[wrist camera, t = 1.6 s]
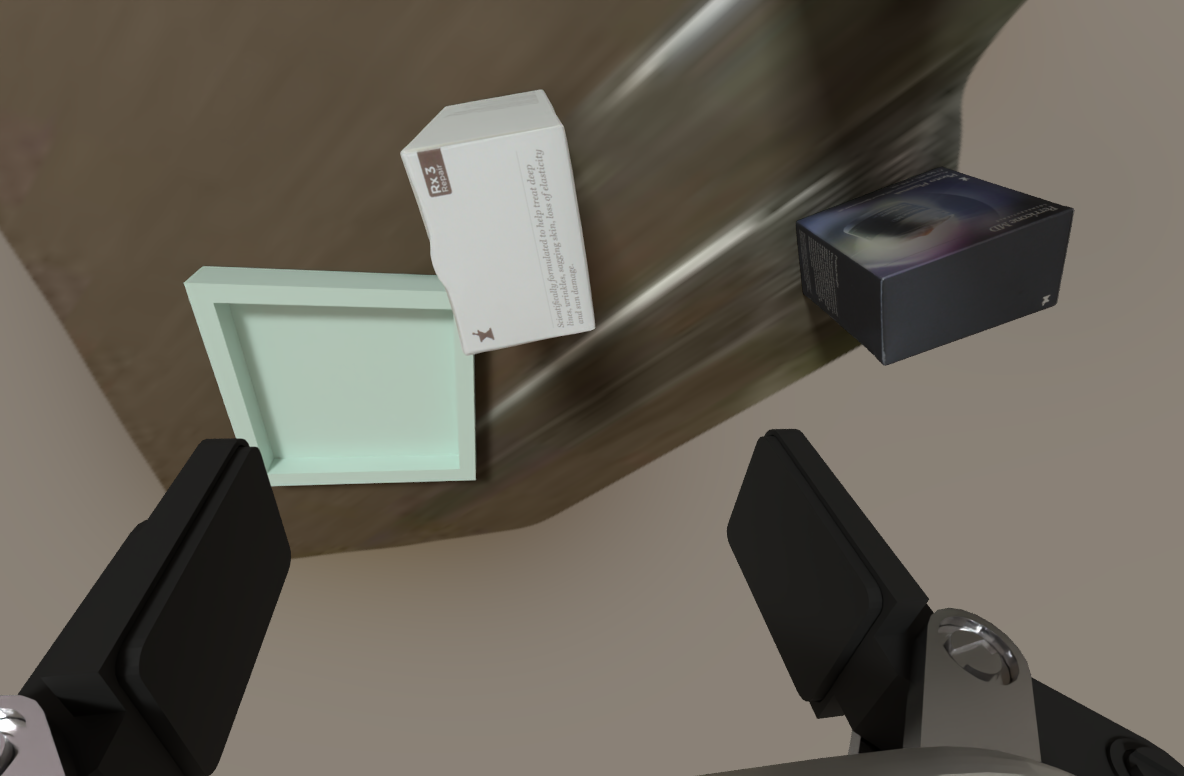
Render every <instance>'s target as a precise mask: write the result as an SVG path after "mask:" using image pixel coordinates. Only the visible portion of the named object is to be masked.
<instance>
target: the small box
mask: <svg viewBox="0 0 1184 776" xmlns="http://www.w3.org/2000/svg"><path fill="white" fill-rule="evenodd" d="M1073 215H1074V209H1073V208H1070V207H1067V206H1062V205H1059V204H1056V203H1052V202H1050V201H1047V200H1043V199H1041V198H1037V197H1034V196H1031V195H1028V194H1024V193H1022V192H1018V191H1015V190H1012V189H1009V188H1006V187H1002V186H999V185H997V184H993V183H990V182H987V181H984V180H981V179H978V178H975V177H971V176H969V175H965V174H963V173H959V172H956V171H953V170H950V169H947V168H945V167H939V168H936V169H933V170H931V171H928V172H925V173H923V174H920V175H917V176H915V177H912V178H909V179H907V180H904V181H902V182H899V183H896V184H894V185H891V186H888V187H886V188H883V189H880V190H878V191H875V192H873V193H870V194H867V195H864V196H862V197H859V198H856V199H854V200H851V201H848V202H846V203H843V204H841V205H838V206H835V207H833V208H830V209H827V210H824V211H822V212H819V213H817V214H814V215H811V216H808V217H806V218H803V219H800V220H798V221H797V222H796V230H797V242H798V251H799V261H800V269H801V278H802V288H803V294H804V295H805V296H807V297H808V298H810V299H811V300H812V301H813V302H814V303H816V305H818V306H819V307H820V308H821V309H822V310H823V311H825V312H826V313H827V314H828V315H829V316H830V317H831V318H833V319H834V320H835V321H836V322H837V323H838V324H839V325H841V326H842V327H843V328H844V329H845V330H846V331H847V332H848V333H850V334H851V335H852V336H853V337H854V338H856V339H857V340H858V341H859V342H860V343H861V344H862V345H864V346H865V347H866V348H867V349H868V350H869V351H870V352H871V353H872V354H873V355H875V357H876V358H877V359H878V360H879V361H880V362H881V363H882V364H883V365H889V364H892V363H895V362H897V361H900V360H903V359H906V358H908V357H911V356H914V355H917V354H920V353H922V352H925V351H928V350H931V349H934V348H936V347H939V346H942V345H945V344H948V343H951V342H954V341H956V340H959V339H962V338H965V337H967V336H970V335H973V334H976V333H979V332H982V331H984V330H987V329H990V328H993V327H996V326H999V325H1001V324H1004V323H1007V322H1010V321H1013V320H1015V319H1018V318H1021V317H1024V316H1026V315H1029V314H1032V313H1035V312H1038V311H1041V310H1043V309H1046V308H1049V307H1052V306H1054V305H1056V304H1057V301H1058V294H1059V290H1060V284H1061V279H1062V274H1063V268H1064V263H1065V258H1066V253H1067V247H1068V243H1069V237H1070V232H1071V227H1072V221H1073Z"/></svg>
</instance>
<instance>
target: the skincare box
mask: <svg viewBox="0 0 1184 776" xmlns="http://www.w3.org/2000/svg"><path fill="white" fill-rule="evenodd" d="M401 157H402V160H403V163H404V166H405V169H406V172H407V175H408V178H409V181H410V183H411V186H412V189H413V192H414V195H415V198H416V201H417V203H418V206H419V209H420V212H421V215H422V218H423V222H424V225H425V228H426V231H427V234H428V237H429V240H430V246H431V252H430V253H431V259H432V263H433V267H434V269H435V272H436V274H437V276H438V278H439V280H440V281H441V282H442V284H443V285H444V287H445V290H446V293H447V296H448V299H449V302H450V305H451V309H452V311H453V314H454V318H455V322H456V326H457V330H458V335H459V339H460V344H461V348H462V351H463V353H464V354H465V355H466V356H469V355H473V354H477V353H481V352H486V351H492V350H497V349H502V348H507V347H512V346H516V345H521V344H526V343H530V342H535V341H539V340H544V339H548V338H553V337H559V336H564V335H570V334H576V333H581V332H586V331H591V330H594V329H595V320H594V311H593V303H592V295H591V287H590V280H589V273H588V265H587V259H586V253H585V246H584V240H583V233H582V226H581V220H580V214H579V208H578V202H577V196H576V190H575V184H574V177H573V171H572V165H571V160H570V154H569V149H568V143H567V138H566V133H565V129H564V126H563V125H562V124H561V122H560V120H559V118H558V117H557V116H556V114H555V111H554V109H553V107H552V105H551V103H550V101H549V99H548V98H547V96H546V94H545V92H544V91H543V90H536V91H530V92H524V93H519V94H513V95H508V96H502V97H496V98H491V99H485V100H480V101H474V102H468V103H463V104H457V105H452V106H447V107H444V109H443V110H442V111H441V112H440V113H439V114H438V115H437V116H436V117H435V118H434V119H433V120H432V121H431V122H430V123H429V124H428V125H427V126H426V127H425V128H424V129H423V130H422V131H421V132H420V133H419V134H418V135H417V136H416V137H415V138H414V139H413V140H412V141H411V142H410V143H409V144H408V145H407V146H406V147H405V148H404V149H403V150H402V151H401Z"/></svg>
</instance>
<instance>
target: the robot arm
mask: <svg viewBox="0 0 1184 776" xmlns="http://www.w3.org/2000/svg"><path fill="white" fill-rule="evenodd" d="M727 537H728V542H729V544H730V546H731V549H732V551H733V553H734V555H735V557H736V559H737V562H738V564H739V566H740V568H741V570H742V572H743V575H744V577H745V579H746V581H747V583H748V585H749V588H750V590H751V592H752V594H753V596H754V598H755V601H756V603H757V605H758V607H759V609H760V612H761V613H762V616H763V618H764V620H765V622H766V625H767V627H768V629H769V631H770V633H771V635H772V637H773V640H774V642H775V644H776V646H777V648H778V650H779V653H780V655H781V657H782V659H783V661H784V663H785V666H786V668H787V670H788V672H789V674H790V677H791V679H792V681H793V683H794V685H795V687H796V690H797V692H798V693H799V695H800V696H801V698H802V699H803V700H805V701H809V702H810V704H811V706H812V709H813V711H814V713H815V715H816V717H817V718H818V719H820V718H828V717H835V716H843V715H845V716H846V718H847V720H848V722H849V724H850V726H851V728H852V734H851V740H850V747H849V752H848V755H845V756H837V757H828V758H820V759H813V760H805V761H798V762H791V763H784V764H778V765H770V766H763V767H756V768H749V769H741V770H734V771H728V772H720V773H713V774H706V775H699V776H1184V767H1183V766H1182V765H1181V764H1180V763H1179V762H1177V761H1176V760H1175V759H1174V758H1173V757H1171V756H1170V755H1169V754H1168V753H1166V752H1165V751H1164V750H1162V749H1160V748H1159V747H1157V746H1156V745H1154V744H1153V743H1151V742H1150V741H1148V740H1146V739H1144V738H1143V737H1141V736H1139V735H1137V734H1135V733H1133V732H1132V731H1130V730H1128V729H1126V728H1124V727H1122V726H1120V725H1119V724H1117V723H1114V722H1113V721H1111V720H1109V719H1107V718H1106V717H1104V716H1102V715H1100V714H1098V713H1096V712H1095V711H1093V710H1091V709H1089V708H1087V707H1085V706H1083V705H1082V704H1080V703H1078V702H1076V701H1074V700H1072V699H1071V698H1068V697H1067V696H1065V695H1063V694H1061V693H1059V692H1058V691H1056V690H1054V689H1052V688H1050V687H1048V686H1047V685H1045V684H1043V683H1041V682H1039V681H1037V680H1036V679H1033V678H1032V677H1031V673H1030V670H1029V667H1028V663H1027V661H1026V659H1025V658H1024V656H1023V654H1022V653H1021V651H1020V650H1019V648H1018V647H1017V646H1016V645H1015V644H1014V643H1013V642H1012V640H1011V639H1010V638H1009V637H1008V636H1007V635H1006V634H1005V633H1003V632H1002V631H1001V630H1000V629H998V628H997V627H996V626H994V625H993V624H992V623H990V622H988V621H986V620H985V619H983V618H981V617H979V616H978V615H976V614H973V613H970V612H967V611H964V610H961V609H954V608H945V609H941V610H937V611H936V612H935V613H933V611H932V610H931V609H930V607H929V606H928V605H927V602H928V600H929V598H928V597H927V596H926V594H925V593H924V592H923V590H922V589H921V588H920V586H919V585H918V584H917V582H916V581H915V580H914V579H913V577H912V576H911V575H910V573H909V572H908V571H907V569H906V568H905V567H904V565H903V564H902V563H901V561H900V560H899V559H898V558H897V556H896V555H895V554H894V553H893V551H892V550H891V549H890V547H889V546H888V544H887V543H886V542H885V541H884V539H883V538H882V537H881V536H880V534H879V533H878V531H877V530H876V529H875V527H874V526H873V525H872V523H871V522H870V521H869V520H868V518H867V517H866V516H865V514H864V513H863V512H862V510H861V509H860V508H859V506H858V505H857V504H856V502H855V501H854V500H853V499H852V497H851V496H850V495H849V493H848V492H847V491H846V489H845V488H844V487H843V485H842V484H841V483H840V481H839V480H838V479H837V478H836V476H835V475H834V474H833V472H832V471H831V470H830V468H829V467H828V466H827V465H826V463H825V462H824V460H823V459H822V458H821V457H820V455H819V454H818V453H817V451H816V450H815V449H814V447H813V446H812V445H811V443H810V442H809V441H808V440H807V438H806V437H805V436H804V434H803V433H802V432H801V431H800V430H797V429H772V430H769V431H768V432H767V433H766V434H765V436H764V437H760V438H759V439H758V441H757V444H756V447H755V449H754V452H753V455H752V458H751V461H750V464H749V466H748V469H747V472H746V475H745V478H744V480H743V484H742V486H741V489H740V492H739V495H738V497H737V500H736V503H735V506H734V509H733V511H732V514H731V517H730V520H729V523H728V526H727ZM290 561H291V551H290V546H289V543H288V540H287V537H286V533H285V530H284V527H283V524H282V520H281V517H280V514H279V510H278V507H277V504H276V501H275V497H274V494H273V491H272V488H271V484H270V481H269V478H268V475H267V471H266V468H265V465H264V461H263V458H262V455H261V452H260V450H259V448H258V447H250V446H249V444H248V442H247V441H246V440H245V439H242V438H235V439H205V440H203V441H202V442H201V443H200V444H199V445H198V446H197V448H196V449H195V451H194V452H193V454H192V455H191V457H190V458H189V460H188V461H187V463H186V464H185V465H184V467H183V468H182V470H181V471H180V473H179V474H178V476H177V477H176V479H175V480H174V482H173V483H172V485H171V486H170V487H169V489H168V490H167V492H166V493H165V495H164V496H163V498H162V499H161V501H160V502H159V504H158V505H157V507H156V508H155V509H154V511H153V512H152V514H151V515H150V517H149V518H148V520H145V521H143V522H142V523H140V524H138V525H137V526H136V527H135V528H134V530H133V531H132V532H131V533H130V534H129V536H128V537H127V539H126V540H125V542H124V543H123V544H122V546H121V547H120V549H119V550H118V552H117V553H116V555H115V556H114V558H113V559H112V560H111V562H110V563H109V564H108V566H107V567H106V569H105V570H104V572H103V573H102V574H101V576H100V578H99V579H98V580H97V582H96V583H95V585H94V586H93V587H92V589H91V590H90V592H89V593H88V595H87V596H86V597H85V599H84V600H83V602H82V603H81V605H80V606H79V607H78V609H77V610H76V612H75V613H74V615H73V616H72V618H71V619H70V620H69V622H68V623H67V625H66V626H65V628H64V629H63V631H62V632H61V633H60V635H59V636H58V638H57V639H56V641H55V642H54V643H53V645H52V646H51V648H50V649H49V651H48V652H47V654H46V655H45V656H44V658H43V659H42V661H41V662H40V663H39V665H38V666H37V668H36V669H35V671H34V672H33V674H32V675H31V676H30V678H29V679H28V681H27V682H26V683H25V685H24V686H23V688H22V689H21V691H20V692H19V693H18V695H0V776H209V775H211V774H212V773H213V772H214V770H215V769H216V767H217V765H218V763H219V761H220V758H221V755H222V752H223V750H224V747H225V744H226V742H227V738H228V736H229V733H230V730H231V728H232V725H233V722H234V719H235V716H236V714H237V711H238V708H239V706H240V703H241V700H242V697H243V694H244V692H245V689H246V686H247V684H248V681H249V678H250V675H251V672H252V669H253V667H254V664H255V662H256V659H257V656H258V653H259V650H260V648H261V645H262V642H263V639H264V637H265V634H266V631H267V628H268V626H269V623H270V620H271V617H272V615H273V612H274V609H275V606H276V604H277V601H278V598H279V595H280V593H281V590H282V587H283V584H284V582H285V579H286V576H287V573H288V570H289V567H290Z"/></svg>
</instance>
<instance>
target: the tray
mask: <svg viewBox="0 0 1184 776" xmlns="http://www.w3.org/2000/svg"><path fill="white" fill-rule="evenodd" d="M184 285H185V288H186V291H187V294H188V297H189V300H190V303H191V306H192V309H193V312H194V315H195V318H196V321H197V324H198V327H199V330H200V332H201V335H202V338H203V341H204V344H205V347H206V350H207V353H208V356H209V359H210V362H211V365H212V368H213V371H214V374H215V377H216V380H217V383H218V386H219V389H220V392H221V395H222V398H223V401H224V404H225V407H226V409H227V412H228V415H229V418H230V421H231V424H232V427H233V430H234V433H235V436H236V438H242V439H245V440H246V441H247V442H248V444H249V446H250V447H258V448H259V450H260V452H261V455H262V458H263V461H264V465H265V468H266V471H267V475H268V478H269V481H270V484H271V486H292V485H326V484H360V483H394V482H427V481H461V480H476V409H475V354H473V355H469V356H466V355H465V354H464V353H463V351H462V348H461V344H460V339H459V335H458V330H457V326H456V322H455V318H454V314H453V311H452V309H451V305H450V302H449V299H448V296H447V293H446V290H445V287H444V285H443V284H442V282H441V281H440V280H439V278H438V276H437V275H415V274H390V273H365V272H339V271H314V270H288V269H263V268H237V267H212V266H203V267H201V268H200V269H199V270H198V271H197V272H196V273H194V274H193V275H192V276H191V277H190V278H189V279H188V280H186V281H185V282H184Z"/></svg>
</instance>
